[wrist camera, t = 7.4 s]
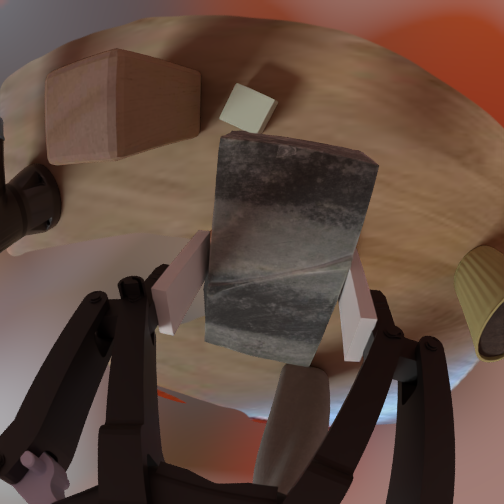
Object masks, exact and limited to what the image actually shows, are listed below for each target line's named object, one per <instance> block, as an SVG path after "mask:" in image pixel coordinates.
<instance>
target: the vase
mask: <svg viewBox="0 0 504 504" xmlns="http://www.w3.org/2000/svg"><path fill="white" fill-rule="evenodd" d="M329 417H330V390H329V379H328V376H327V374H326V373H325V372H324V371H323V370H321V369H319V368H315V367H304V366H298V365H293V364H286V365H285V366H284V367H283V369H282V371H281V374H280V378H279V382H278V386H277V390H276V394H275V397H274V401H273V404H272V407H271V411H270V414H269V417H268V421H267V424H266V427H265V430H264V434H263V437H262V440H261V444H260V448H259V451H258V455H257V459H256V464H255V469H254V476H253V484H260V485H268V486H277V487H278V492H281V493H283V494H287V493H288V491H289V490H290V489H291V487H292V486H293V485H294V483H295V482H296V481H297V479H298V478H299V476H300V475H301V474H302V472H303V471H304V469H305V468H306V466H307V465H308V463H309V462H310V460H311V458H312V457H313V455H314V454H315V452H316V451H317V449H318V447H319V446H320V444H321V442H322V441H323V439H324V437H325V436H326V434H327V432H328V426H329Z"/></svg>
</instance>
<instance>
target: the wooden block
mask: <svg viewBox="0 0 504 504" xmlns="http://www.w3.org/2000/svg"><path fill="white" fill-rule="evenodd" d="M200 94H201V75H200V72H199V71H196V70H193V69H190V68H187V67H184V66H181V65H178V64H175V63H171V62H168V61H165V60H161V59H158V58H154V57H151V56H147V55H143V54H139V53H135V52H131V51H127V50H122V49H117V48H116V49H112V50H109V51H106V52H102V53H99V54H96V55H93V56H90V57H87V58H84V59H82V60H79V61H76V62H74V63H71V64H68V65H66V66H63V67H61V68H59V69H56V70H54V71H52V72H50V73H49V74H48V75H47V78H46V81H45V131H46V147H47V158H48V160H49V163H50V164H53V165H67V164H78V163H91V162H106V161H118V160H120V159H123V158H126V157H129V156H132V155H135V154H139V153H142V152H145V151H148V150H151V149H155V148H158V147H162V146H165V145H169V144H172V143H176V142H180V141H183V140H187V139H191V138H194V137H197V136H198V134H199V132H200Z"/></svg>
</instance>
